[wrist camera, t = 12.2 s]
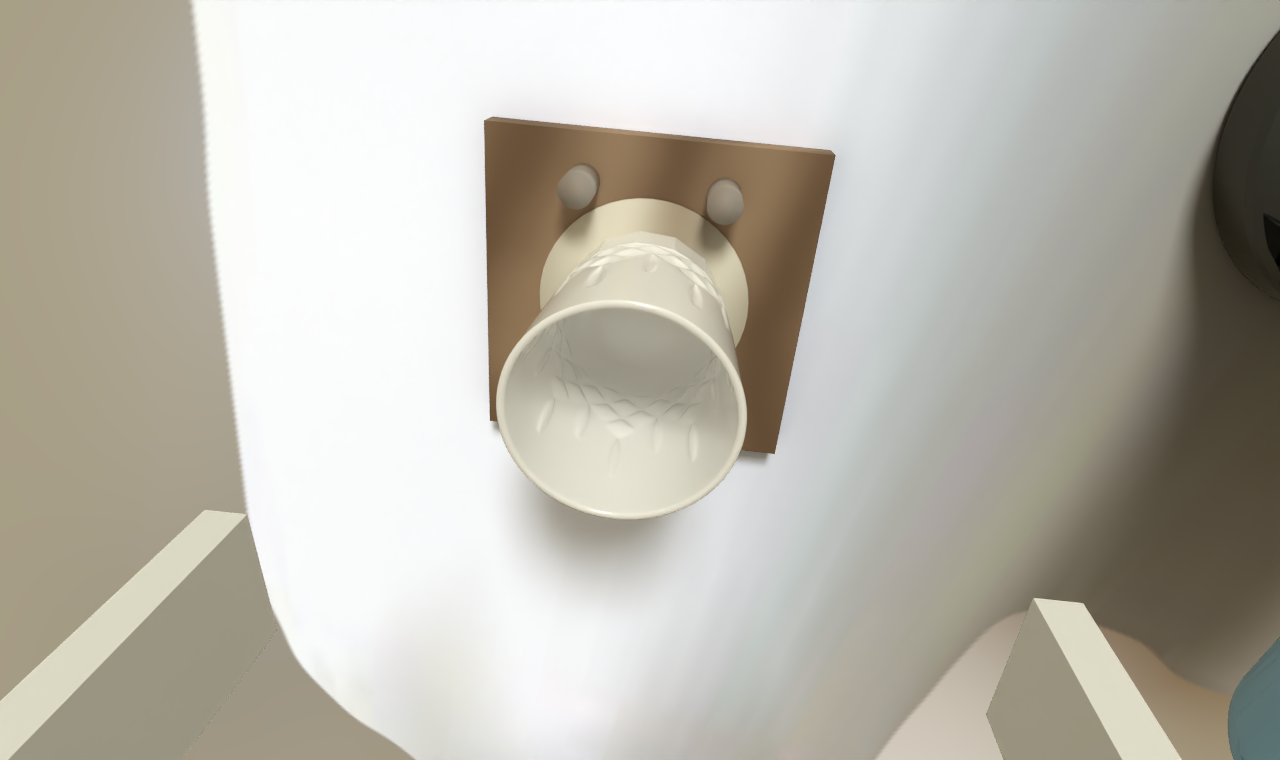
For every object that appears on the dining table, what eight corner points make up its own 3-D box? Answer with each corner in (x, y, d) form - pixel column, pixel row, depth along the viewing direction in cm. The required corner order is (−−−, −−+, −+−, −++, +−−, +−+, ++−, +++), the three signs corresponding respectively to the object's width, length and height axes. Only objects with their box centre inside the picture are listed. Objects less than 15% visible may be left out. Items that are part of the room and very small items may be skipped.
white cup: (546, 367, 33) (486, 496, 24) (567, 199, 29) (506, 277, 20) (712, 399, 33) (715, 540, 24) (754, 235, 29) (776, 329, 20)
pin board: (830, 150, 28) (844, 164, 26) (772, 440, 35) (778, 477, 32) (492, 116, 29) (468, 126, 26) (496, 408, 35) (478, 442, 33)
